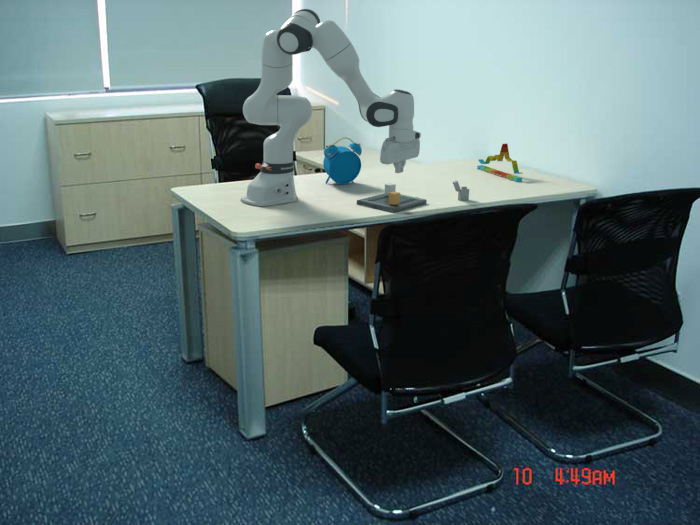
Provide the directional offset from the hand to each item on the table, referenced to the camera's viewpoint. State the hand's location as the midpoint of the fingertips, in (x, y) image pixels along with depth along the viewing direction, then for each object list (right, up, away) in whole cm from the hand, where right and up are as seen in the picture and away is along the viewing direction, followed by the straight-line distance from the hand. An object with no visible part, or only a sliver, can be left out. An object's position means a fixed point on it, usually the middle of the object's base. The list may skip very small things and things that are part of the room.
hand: (399, 172), depth 280 cm
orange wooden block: (-2, -11, 0) cm, 12 cm away
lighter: (+25, -9, +15) cm, 31 cm away
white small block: (-3, -7, +14) cm, 15 cm away
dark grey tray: (-2, -11, +7) cm, 14 cm away
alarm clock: (-22, 0, +39) cm, 45 cm away
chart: (+49, +6, +63) cm, 80 cm away
